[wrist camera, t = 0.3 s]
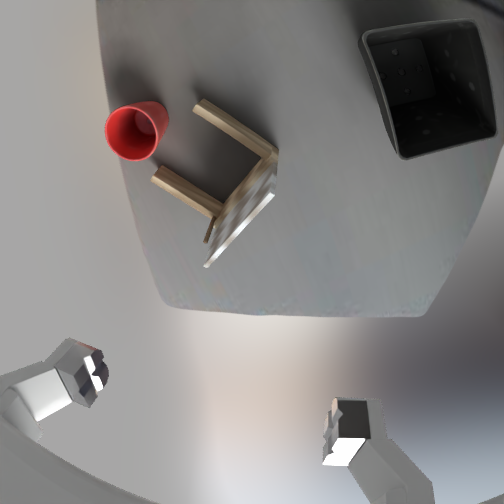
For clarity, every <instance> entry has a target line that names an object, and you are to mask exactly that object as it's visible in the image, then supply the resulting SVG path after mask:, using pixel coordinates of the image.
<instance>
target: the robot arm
mask: <svg viewBox="0 0 504 504" xmlns="http://www.w3.org/2000/svg"><path fill="white" fill-rule="evenodd" d="M103 358H104V356H103V353H102V351H101V350H99V349H96V348H93V347H91V346H89V345H86V344H84V343H81V342H79V341H76V340H74V339H71V338H68V339H65V340H64V342H63V343H61V345H60V346H59V347H58V348H57V349H56V350H55V351H54V352H53V353H52V354H51V355H50V356H49V357H48V358H47V359H46V361H45V362H42V361H41V362H38V363H35V364H32V365H30V366H27V367H24V368H21V369H18V370H16V371H13V372H10V373H7V374H4V375H1V376H0V504H159V503H156V502H154V501H150V500H148V499H145V498H143V497H140V496H137V495H135V494H132V493H130V492H127V491H125V490H123V489H120V488H118V487H116V486H114V485H111V484H109V483H107V482H105V481H103V480H101V479H98V478H96V477H95V476H93V475H91V474H89V473H87V472H85V471H83V470H81V469H79V468H77V467H76V466H74V465H72V464H70V463H69V462H67V461H65V460H63V459H62V458H60V457H58V456H57V455H55V454H53V453H52V452H50V451H49V450H47V449H46V448H44V447H43V446H41V445H40V444H38V443H37V442H38V440H39V439H40V437H41V436H42V434H43V429H42V428H41V426H40V425H39V424H38V422H37V421H39V420H41V419H43V418H45V417H46V416H48V415H50V414H52V413H54V412H55V411H57V410H59V409H61V408H62V407H64V406H66V405H68V404H70V403H71V402H72V401H75V402H77V403H79V404H81V405H83V406H86V407H88V408H90V407H91V405H92V404H93V402H94V401H95V399H96V398H97V396H98V395H97V391H98V390H100V389H102V388H104V386H105V385H106V383H107V380H108V377H109V370H108V367H107V365H106V364H105V363H104V362H103V360H102V359H103ZM323 437H324V438H325V440H326V443H325V445H324V447H323V464H330V465H348V466H347V467H348V469H349V470H350V472H351V473H352V475H353V476H354V478H355V480H356V481H357V483H358V484H359V486H360V487H361V489H362V490H363V492H364V494H365V495H366V497H367V498H368V500H369V501H370V503H371V504H435V500H434V493H433V486H432V482H431V481H430V480H429V479H428V478H427V477H426V476H425V475H424V473H422V471H421V470H420V469H419V468H418V467H417V466H416V465H415V464H414V463H413V462H412V461H411V460H410V459H409V457H408V456H407V455H406V454H405V453H404V452H403V451H402V450H401V449H400V448H399V447H398V445H396V443H395V442H394V441H393V440H392V439H387V433H386V427H385V420H384V414H383V408H382V402H381V400H380V399H364V398H340V397H335V398H334V400H333V402H332V410H330V411H329V412H328V414H327V416H326V420H325V424H324V435H323ZM479 504H504V494H502V495H499V496H497V497H494V498H492V499H489V500H487V501H484V502H482V503H479Z"/></svg>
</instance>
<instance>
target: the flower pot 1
mask: <svg viewBox="0 0 504 504" xmlns="http://www.w3.org/2000/svg"><path fill="white" fill-rule="evenodd" d="M168 122H169V117H168V113H167V111H166V109H165V108H164V107H163V106H162V105H161V104H160V103H158V102H155V101H146V102H139V103H134V104H129V105H126V106H122V107H119V108H117V109H116V110H114V111H113V112H112V113H111V114H110V115H109V117H108V119H107V121H106V124H105V137H106V140H107V143H108V145H109V146H110V148H111V149H112V150H113V152H115V153H116V154H117V155H118V156H120V157H121V158H123V159H126V160H129V161H140V160H144V159H146V158H148V157H149V156H151V155H152V154H153V152H154V151H155V149H156V147H157V146H158V144H159V142H160V140H161V138H162V136H163V134H164V132H165V130H166V128H167V126H168Z"/></svg>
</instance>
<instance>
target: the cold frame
mask: <svg viewBox="0 0 504 504" xmlns="http://www.w3.org/2000/svg"><path fill="white" fill-rule="evenodd" d="M192 111H193V112H195V113H196V114H198V115H199V116H201V117H203V118H204V119H206V120H207V121H209V122H210V123H212V124H213V125H215V126H216V127H218V128H219V129H221V130H223V131H224V132H226V133H227V134H229V135H230V136H231V137H233V138H234V139H236V140H237V141H239V142H240V143H242V144H243V145H245V146H246V147H248V148H249V149H250V150H252V151H253V152H255V153H256V154H258V155H259V156H260V157H262V158H261V159H260V160H259V162H258V163H257V164H256V165H255V166H254V168H253V169H252V170H251V171H250V172H249V173H248V175H247V176H246V177H245V178H244V179H243V181H242V182H241V183H240V184H239V185H238V187H237V188H236V189H235V190H234V191H233V193H232V194H231V195H230V196H229V198H228V199H227V200H226V201H225V202H224V204H222V203H221V202H219V201H218V200H216V199H215V198H213V197H212V196H210V195H209V194H207V193H205V192H204V191H202V190H201V189H199V188H198V187H196V186H194V185H193V184H191V183H190V182H188V181H187V180H185V179H183V178H182V177H180V176H179V175H177V174H176V173H174V172H172V171H171V170H169V169H168V168H166V167H164V166H163V165H162V166H161V167H160V168H159V169H158V170H157V171H156V173H155V174H154V175H153V177H152V179H151V180H150V181H151V182H153V183H155V184H156V185H158V186H159V187H161V188H163V189H164V190H166V191H167V192H169V193H171V194H172V195H174V196H175V197H177V198H179V199H180V200H182V201H183V202H185V203H187V204H188V205H190V206H191V207H193V208H195V209H196V210H198V211H199V212H201V213H202V214H204V215H206V216H207V217H209V218H210V219H212V220H211V222H210V225H209V228H208V230H207V233H206V236H205V238H204V241H203V242H204V243H208V240H209V237H210V234H211V231H212V229H213V227H214V228H215V229H216V230H215V233H214V235H213V238H212V241H211V244H210V247H209V250H208V253H207V256H206V259H205V262H204V265H203V266H204V267H206V268H208V267H209V266H210V265H211V263H212V262H213V261H214V260H215V259H216V258H217V257H218V256H219V255H220V254H221V253H222V251H223V250H224V249H225V248H226V247H227V246H228V245H229V244H230V243H231V242H232V241H233V240H234V238H235V237H236V236H237V235H238V234H239V233H240V232H241V231H242V230H243V229H244V228H245V227H246V226H247V224H248V223H249V222H250V221H251V220H252V219H253V218H254V217H255V216H256V215H257V214H258V213H259V212H260V211H261V209H262V208H263V207H264V206H265V205H266V204H267V203H268V202H269V201H270V200H271V199H272V198H273V197H274V196H275V187H276V176H277V164H278V153H279V150H278V149H277V148H276V147H274V146H273V145H272V144H270V143H269V142H267V141H266V140H265V139H263V138H262V137H261V136H259V135H258V134H256V133H255V132H253V131H252V130H251V129H249V128H248V127H246V126H245V125H243V124H242V123H240V122H239V121H238V120H236V119H235V118H233V117H232V116H230V115H229V114H227V113H226V112H224V111H223V110H221V109H220V108H218V107H216V106H215V105H213V104H212V103H210V102H209V101H207V100H205V99H203V100H201V101H200V102H199V103H197V104H196V106H195V107H194V109H193V110H192Z"/></svg>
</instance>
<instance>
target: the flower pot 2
mask: <svg viewBox="0 0 504 504" xmlns="http://www.w3.org/2000/svg"><path fill="white" fill-rule="evenodd" d="M358 47H359V49H360V52H361V54H362V57H363V59H364V61H365V64H366V66H367V69H368V72H369V75H370V77H371V80H372V83H373V86H374V90H375V93H376V96H377V100H378V103H379V107H380V111H381V115H382V118H383V122H384V125H385V128H386V131H387V133H388V136H389V138H390V141H391V143H392V145H393V147H394V149H395V151H396V153H397V155H398V157H399V158H400V159H401V160H403V161H406V160H410V159H414V158H417V157H421V156H425V155H428V154H432V153H436V152H439V151H443V150H447V149H450V148H454V147H458V146H463V145H467V144H471V143H475V142H479V141H484V140H489V139H493V138H495V137H496V136H497V135H498V122H497V113H496V105H495V98H494V92H493V86H492V80H491V75H490V69H489V65H488V60H487V56H486V52H485V47H484V44H483V40H482V36H481V33H480V29H479V26H478V24H477V22H476V21H475V20H474V19H471V18H465V19H450V20H438V21H428V22H419V23H411V24H404V25H396V26H390V27H384V28H378V29H373V30H368V31H366V32H364V33H363V34H362V35H361V36H360V38H359V40H358ZM393 49H397V50H398V52H399V54H398V55H397V56H395V55H393V54H392V50H393ZM418 65H420V66H422V68H423V70H422V71H421V72H419V71H417V69H416V67H417V66H418ZM400 68H403V69H404V70H405V75H404V76H401V75H399V74H398V70H399V69H400ZM380 73H385V74H386V79H381V78H380ZM406 88H408V89H410V91H411V92H410V94H409V95H407V94H405V92H404V90H405V89H406Z"/></svg>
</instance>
